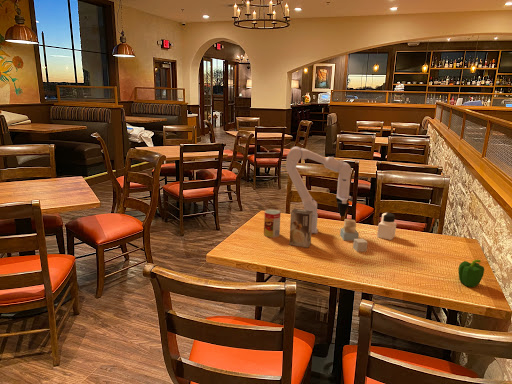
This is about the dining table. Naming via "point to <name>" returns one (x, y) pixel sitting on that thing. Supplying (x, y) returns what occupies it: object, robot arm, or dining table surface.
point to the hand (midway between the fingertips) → (341, 213)
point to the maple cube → (349, 225)
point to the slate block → (348, 235)
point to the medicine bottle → (387, 226)
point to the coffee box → (300, 227)
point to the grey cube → (360, 245)
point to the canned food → (272, 223)
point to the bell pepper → (470, 273)
